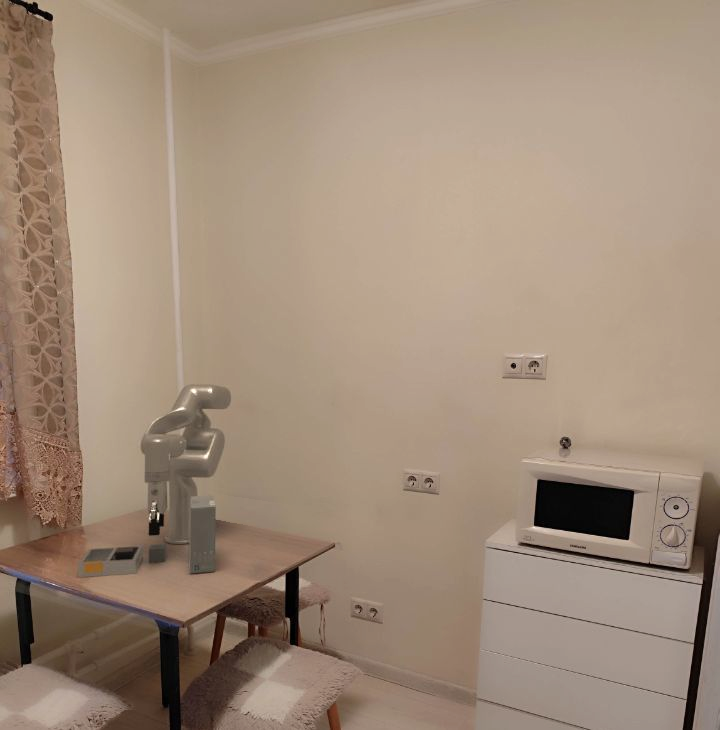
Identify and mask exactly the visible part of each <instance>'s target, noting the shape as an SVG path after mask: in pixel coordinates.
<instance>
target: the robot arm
mask: <svg viewBox="0 0 720 730" xmlns="http://www.w3.org/2000/svg"><path fill="white" fill-rule="evenodd" d="M231 394H232V393H231V391H230V390H229V388H227V387H226V386H220V385H217V384H201V383H200V384H199V383H198V384H197V383H196V384H195V383H193V384H186V385H185V386H184V387H183V388H182V389H181V390H180V392H179V395H178V397H177V399H176V400H175V402H174V404H173V406H172V407H171V410H170V411H167V412H166V413H164V414H161V416H159V417H157V418H156V419H154V420H153V421H152V422H151V423H150V424H149V425H148V426H147V428H146V430H145V433H143V436H142V439H141V441H140V450H141V453H142V454H143V455H144V483H145V484H147V514H148V515H149V518H148V519H149V520H148V535H149V536H160V534H161V528H162V527H164V526H165V513H166V512H167V510H168V509H169V511H168V512H169V516H168V517H169V520H168V521H169V530H168V531H169V532H168V533H167V534H166V535H165V536H164V541H165V542H166V544H167V543H168V544H172V545H187V544H190V497H192V496H198V487H197V484H196V482H195V481H194V479H193V478H204V479H205V478H206V479H207V478H212V477H213V476H214V475H215V474H216V472H217V469H218V466H219V464H220V461H221V457H222V455H223V452H224V450H225V449H224V448H225V443H226V438H225V434H224V432H223V431H222V430H220V429H218V428H212V427H211V425H212V421H211V419H210V418H209V416H208V415H207V413H205V411H204V410H226V409H228V407H229V406H230V404H231V402H232V395H231ZM183 428H184V430H183V433H182V434H181V435H180V434H177V433H176V434H173V433H172V434H170V433H171V432H174V431H177V430H180V429H183ZM168 487H169V488H168ZM168 491H169V493H168ZM168 495H169V499H168ZM168 502H169V505H168ZM168 507H169V508H168Z"/></svg>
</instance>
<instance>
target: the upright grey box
mask: <svg viewBox="0 0 720 730" xmlns="http://www.w3.org/2000/svg"><path fill="white" fill-rule="evenodd" d="M166 560H167V543H165V544H164V543H163V544H151V545H150V546H149V548H148V564H156V563H157V564H158V563H159V562H160V563H166Z"/></svg>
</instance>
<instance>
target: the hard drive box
mask: <svg viewBox="0 0 720 730" xmlns="http://www.w3.org/2000/svg"><path fill="white" fill-rule="evenodd" d="M216 512H217V511H216V502H215V495H214V494H212V495H210V494H209V495H197V496H192V497H190V543H189V545H188V546H189V548H188V549H189V550H188V552H189V557H188V559H189V560H188V561H189V562H188V563H189V565H188V568H189V574H200V573H201V574H202V573H210V572H215V571H216Z"/></svg>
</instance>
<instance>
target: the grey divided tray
mask: <svg viewBox="0 0 720 730" xmlns="http://www.w3.org/2000/svg"><path fill="white" fill-rule="evenodd" d="M143 550H144V546H143V545H134V546H133V545H131V546H115V547H114V546H113V547H98V548H89V549H88V550H87V551H86V553H85V554H84V555H83V556H82V558H81V559H80V561H78V564H77V578H89V577H90V578H91V577H103V576H105V577H106V576H115V575H116V576H117V575H118V576H120V575H131V574H132V575H133V574H136V573H137V572H138V569H139V567H140V565H141V564H142V563H141V562H142V560H143V559H144V551H143Z"/></svg>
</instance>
